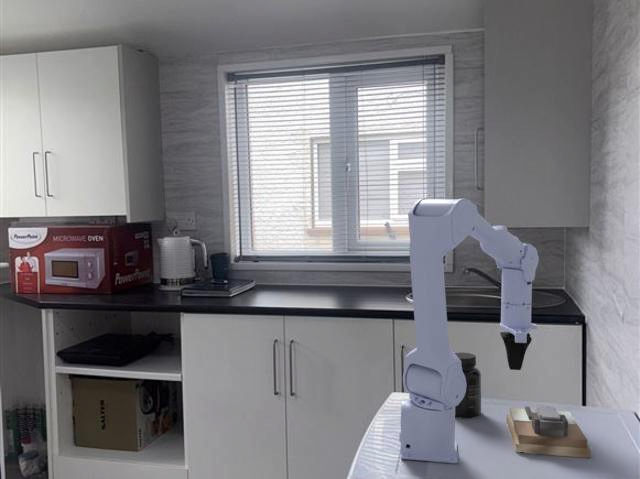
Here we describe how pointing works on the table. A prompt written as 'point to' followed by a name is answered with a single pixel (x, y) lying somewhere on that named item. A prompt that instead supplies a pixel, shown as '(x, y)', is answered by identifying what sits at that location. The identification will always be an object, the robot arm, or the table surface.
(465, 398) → the supplement bottle
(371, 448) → the table surface
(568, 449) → the lock board
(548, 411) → the bolt
